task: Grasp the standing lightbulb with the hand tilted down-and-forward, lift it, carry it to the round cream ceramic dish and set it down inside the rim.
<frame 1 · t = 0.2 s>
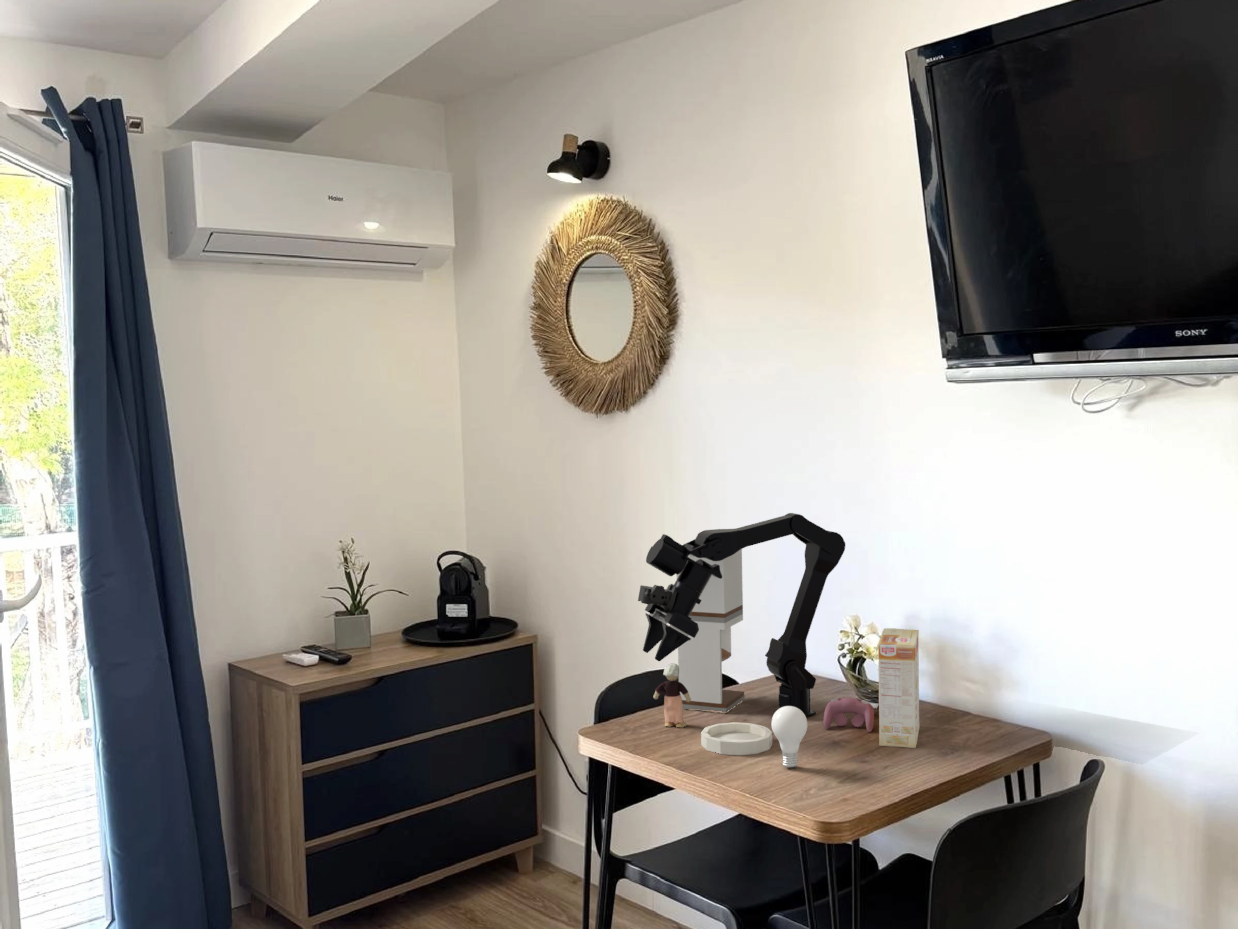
hand: (650, 656, 225), 15 cm above the table, tool tilted 30°, fingers open, 9 cm apart
dish: (736, 744, 214), on the table
coffeecake box: (899, 737, 217), on the table
grandmother figurine: (672, 726, 228), on the table
white tower with stripe: (712, 706, 243), on the table
video game controller: (849, 729, 224), on the table
lightbulb: (790, 769, 199), on the table
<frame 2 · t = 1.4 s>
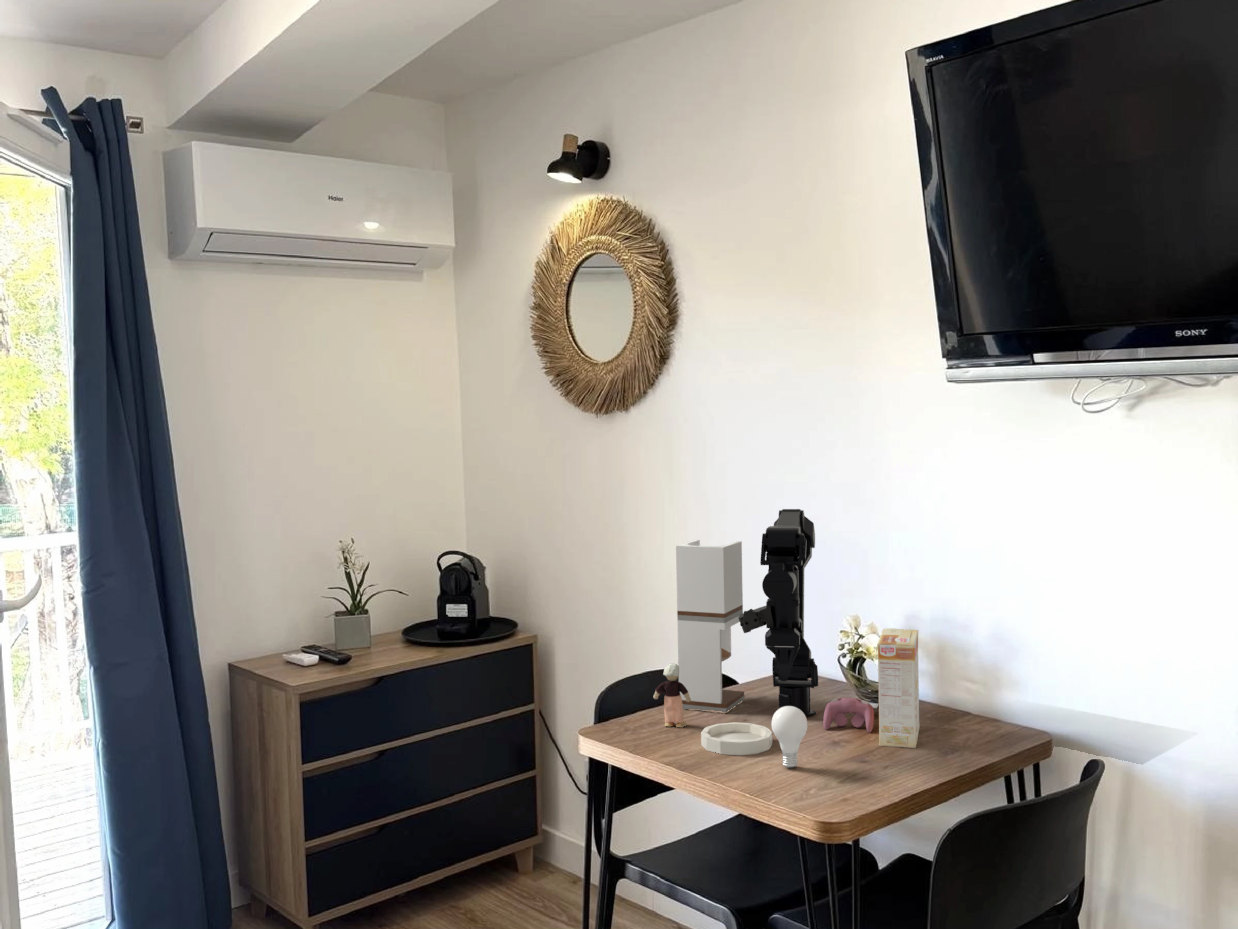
hand: (784, 675, 213), 13 cm above the table, tool pointing down, fingers open, 9 cm apart
nothing on the table moved.
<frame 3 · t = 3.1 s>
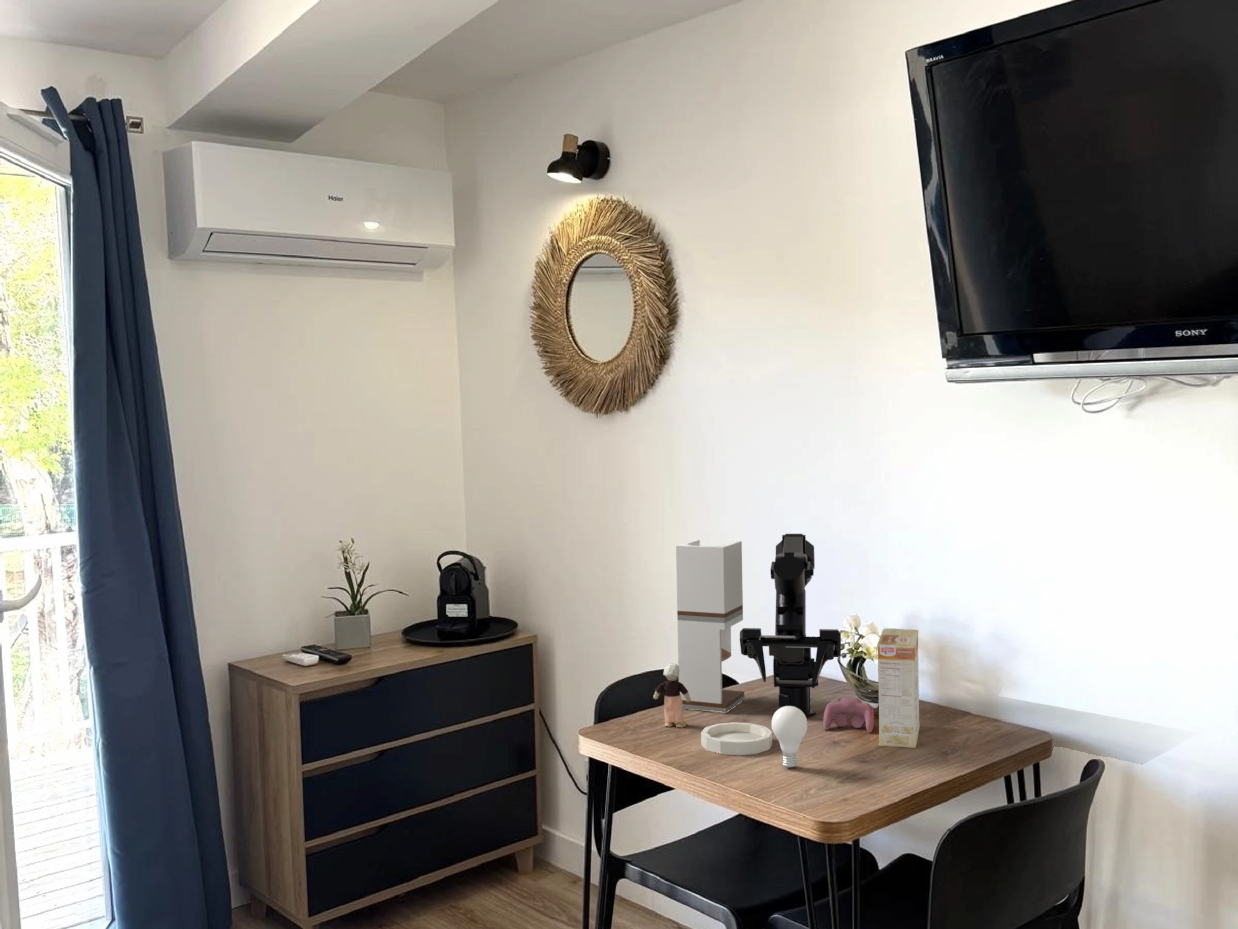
hand: (789, 681, 207), 13 cm above the table, tool tilted 45°, fingers open, 9 cm apart
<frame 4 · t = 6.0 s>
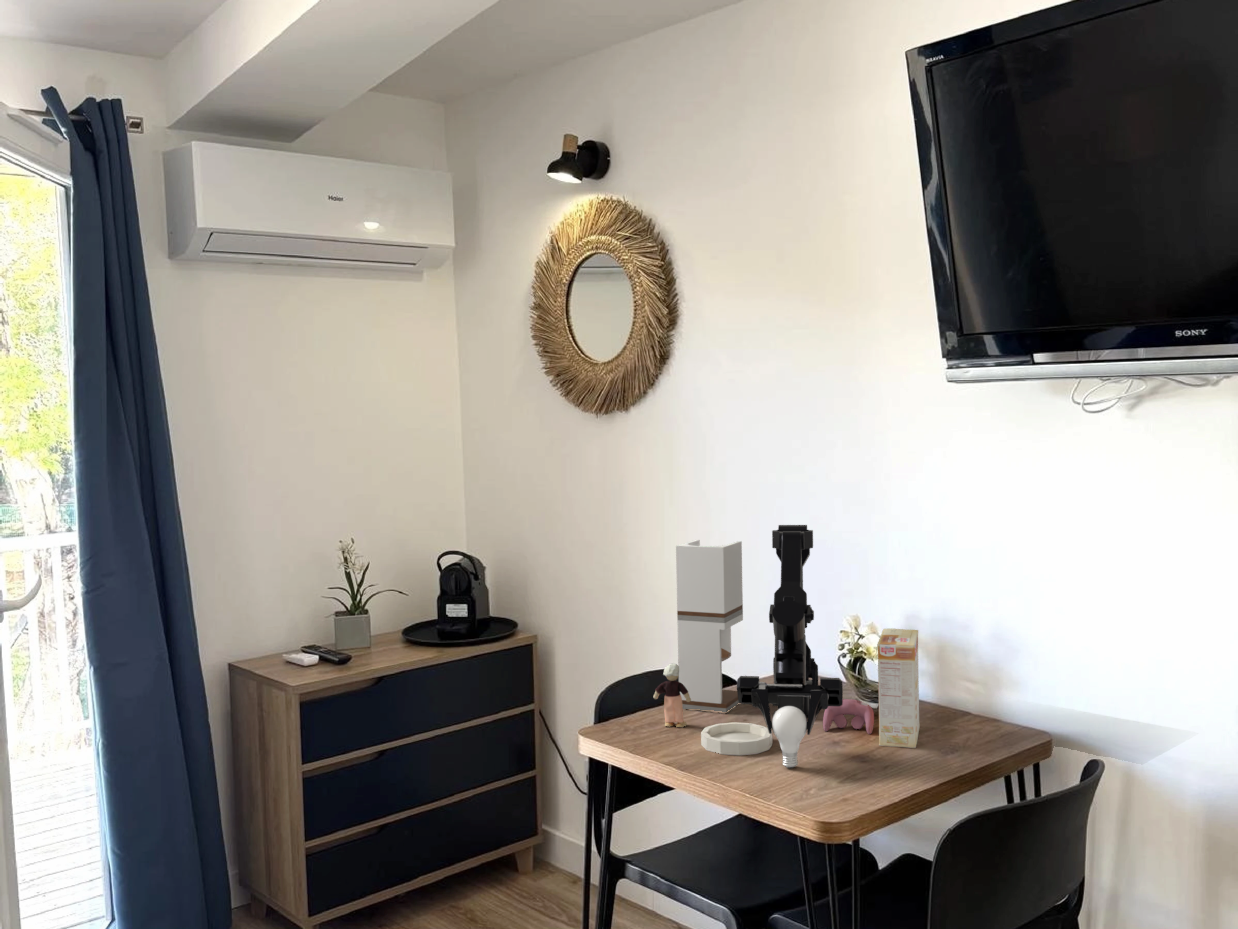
hand: (789, 733, 198), 7 cm above the table, tool tilted 45°, fingers closed on lightbulb, 6 cm apart
lightbulb: (790, 769, 199), on the table, touching gripper
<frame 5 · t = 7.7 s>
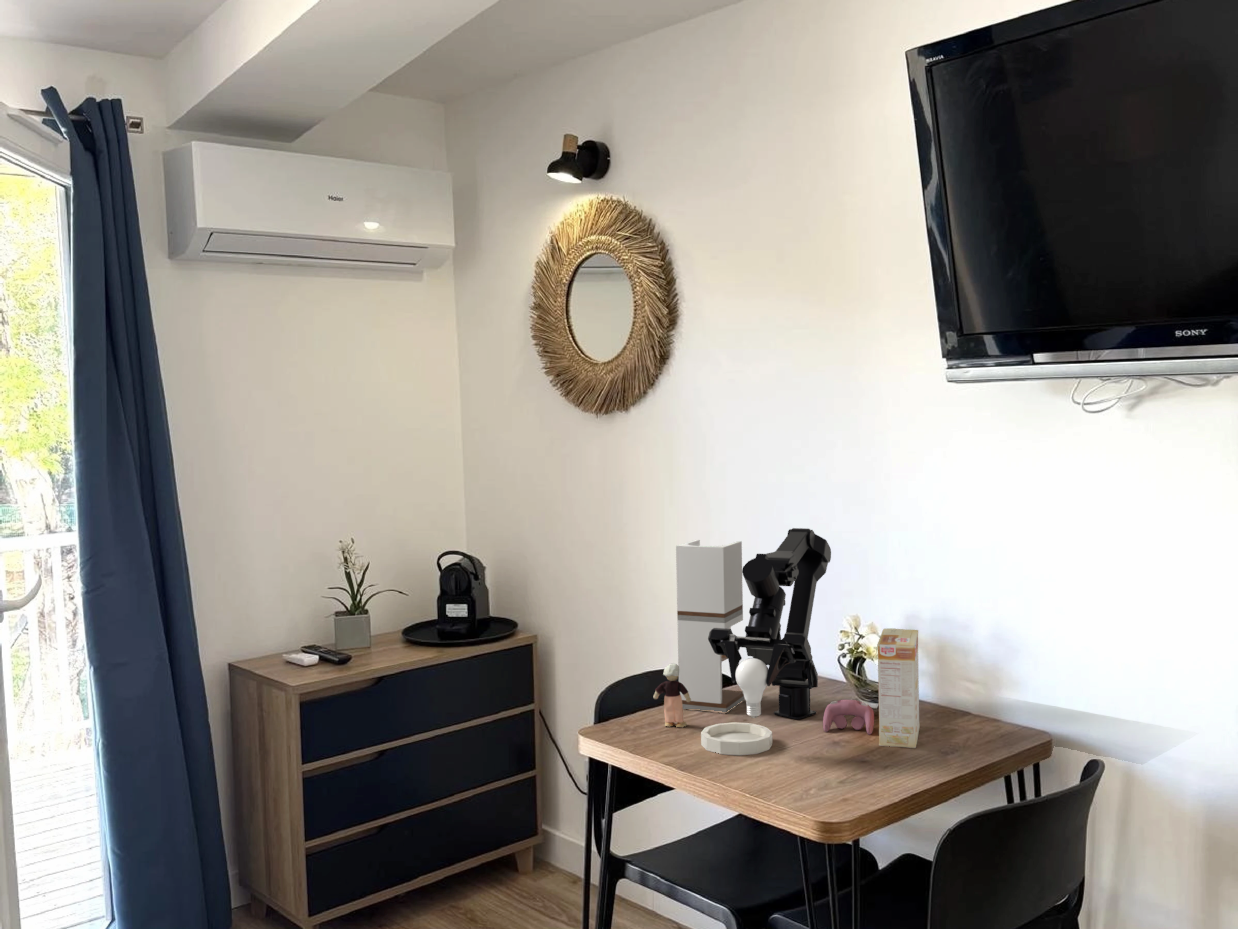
hand: (750, 683, 207), 13 cm above the table, tool tilted 45°, fingers closed on lightbulb, 6 cm apart
lightbulb: (754, 718, 208), point 6 cm above the table, touching gripper
when the fingers open (8 cm above the table, at t = 9.7 s): lightbulb stays where it is, resting on dish.
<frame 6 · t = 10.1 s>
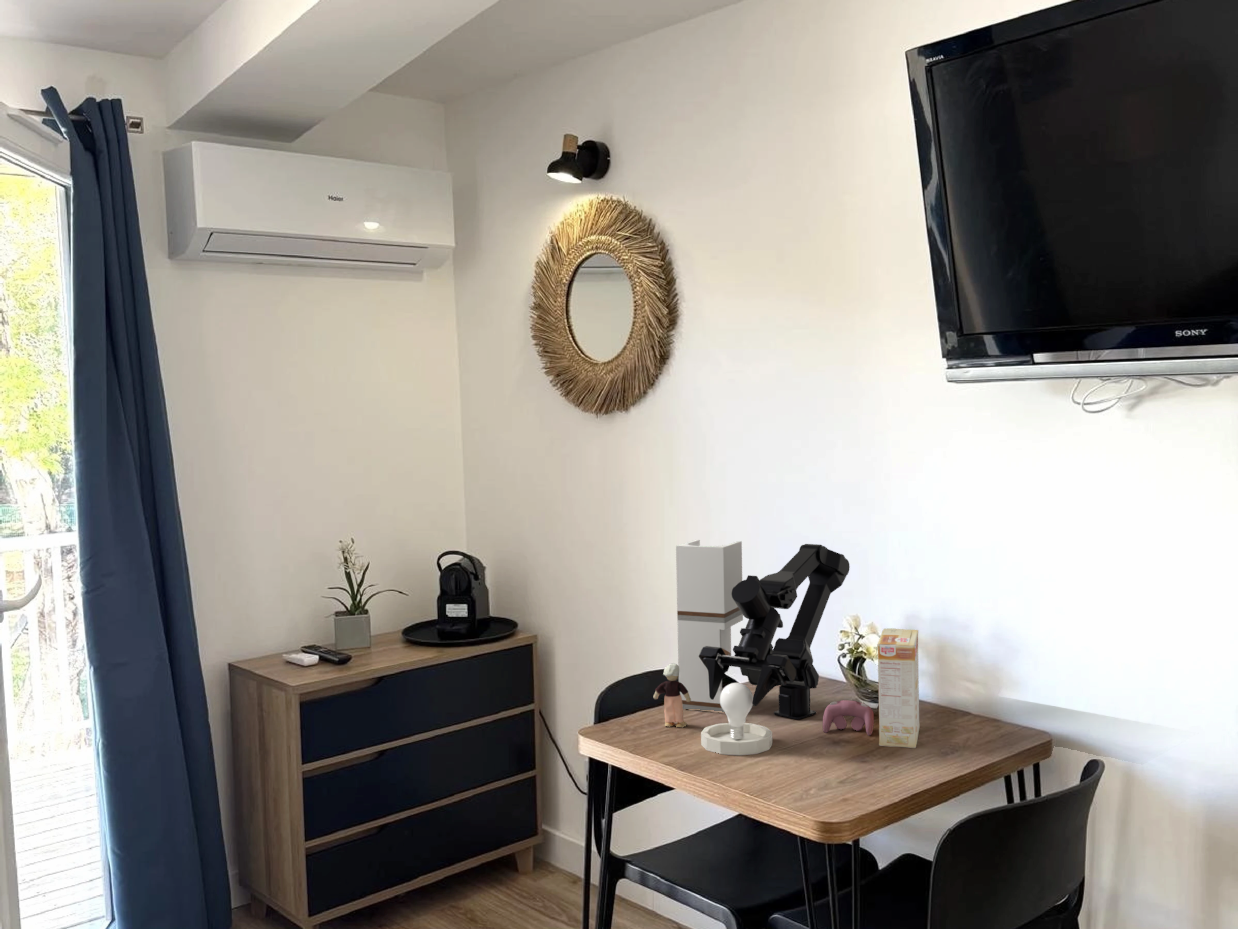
hand: (732, 701, 212), 9 cm above the table, tool tilted 45°, fingers open, 9 cm apart
lightbulb: (737, 741, 214), point 1 cm above the table, touching dish
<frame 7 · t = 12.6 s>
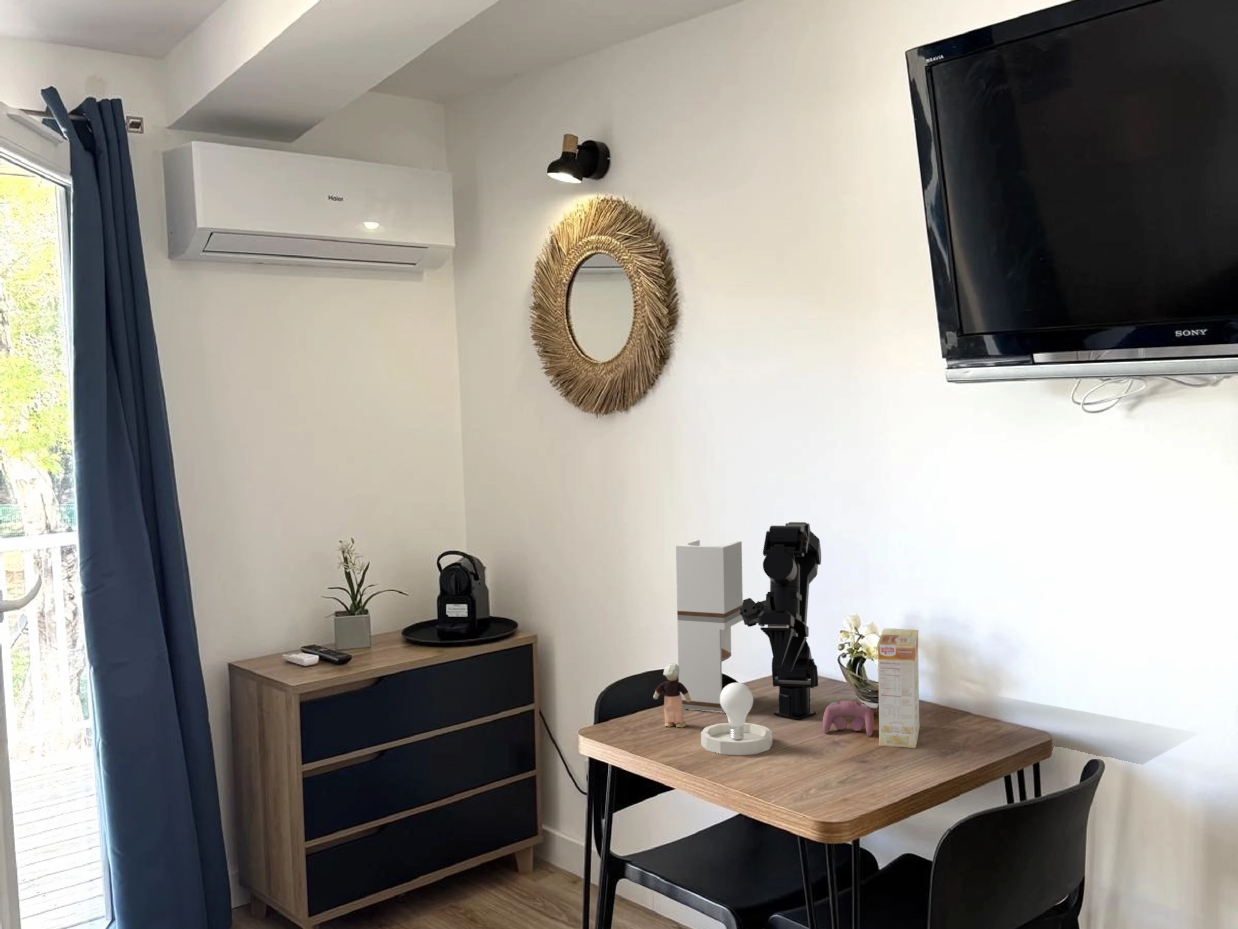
hand: (783, 669, 216), 14 cm above the table, tool tilted 20°, fingers open, 9 cm apart
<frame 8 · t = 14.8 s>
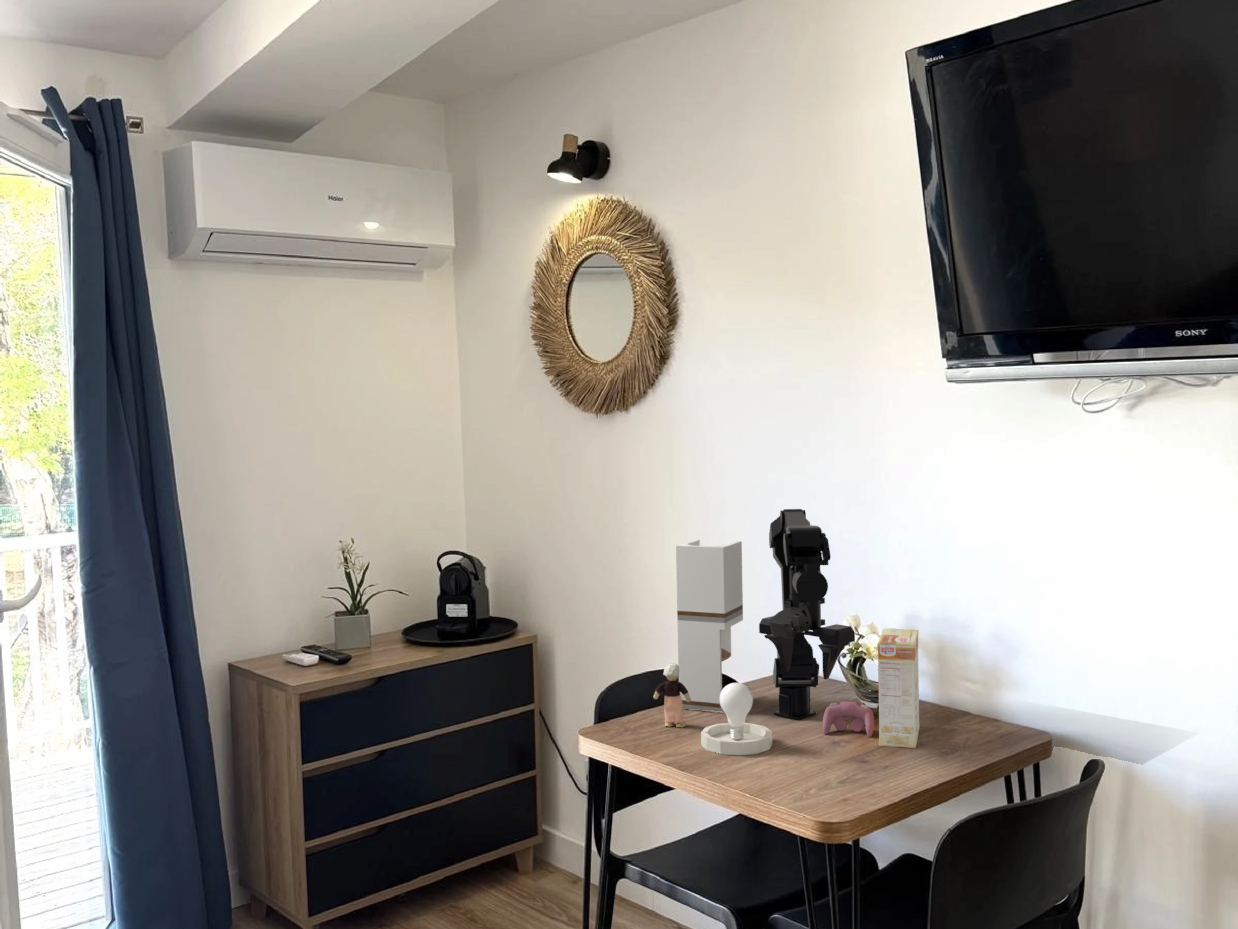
hand: (806, 675, 213), 13 cm above the table, tool pointing down, fingers open, 9 cm apart
at the end: lightbulb 0.1 cm from the dish (horizontally); lightbulb touching dish; the gripper is holding nothing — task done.
